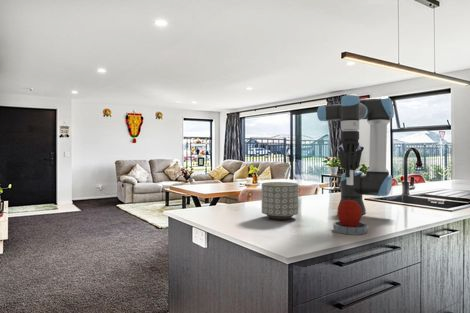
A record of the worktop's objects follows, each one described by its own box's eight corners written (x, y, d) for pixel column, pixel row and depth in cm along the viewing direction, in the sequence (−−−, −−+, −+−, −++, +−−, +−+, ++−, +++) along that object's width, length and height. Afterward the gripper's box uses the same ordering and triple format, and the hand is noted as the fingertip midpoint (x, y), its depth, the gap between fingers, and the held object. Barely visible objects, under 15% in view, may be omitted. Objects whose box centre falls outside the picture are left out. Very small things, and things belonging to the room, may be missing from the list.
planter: (302, 216, 181) (302, 182, 181) (292, 223, 164) (292, 186, 164) (268, 213, 189) (268, 181, 189) (256, 220, 172) (256, 184, 172)
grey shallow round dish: (327, 231, 148) (327, 224, 148) (341, 225, 158) (341, 219, 158) (359, 236, 138) (359, 229, 138) (371, 230, 149) (371, 223, 149)
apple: (365, 231, 143) (365, 198, 143) (341, 231, 143) (341, 198, 143) (357, 226, 153) (357, 195, 153) (335, 226, 154) (335, 195, 153)
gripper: (342, 130, 142) (342, 186, 142) (368, 130, 146) (368, 185, 146) (332, 131, 149) (332, 184, 149) (357, 131, 153) (356, 183, 153)
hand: (349, 184), depth 148 cm, fingers closed
